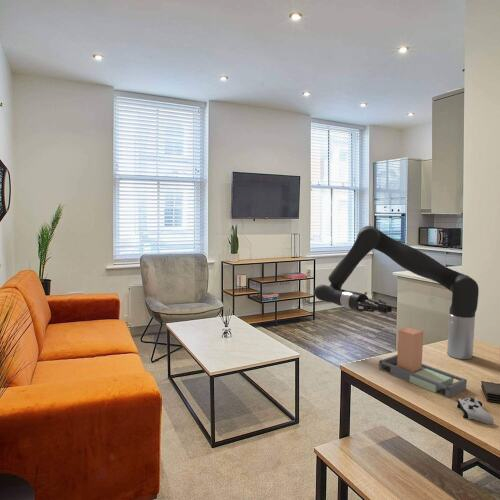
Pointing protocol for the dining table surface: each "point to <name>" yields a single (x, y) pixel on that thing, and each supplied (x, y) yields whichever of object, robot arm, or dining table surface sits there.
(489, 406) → the dining table surface
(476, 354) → the dining table surface
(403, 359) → the terracotta block
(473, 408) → the gaming controller
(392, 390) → the dining table surface
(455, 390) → the box
